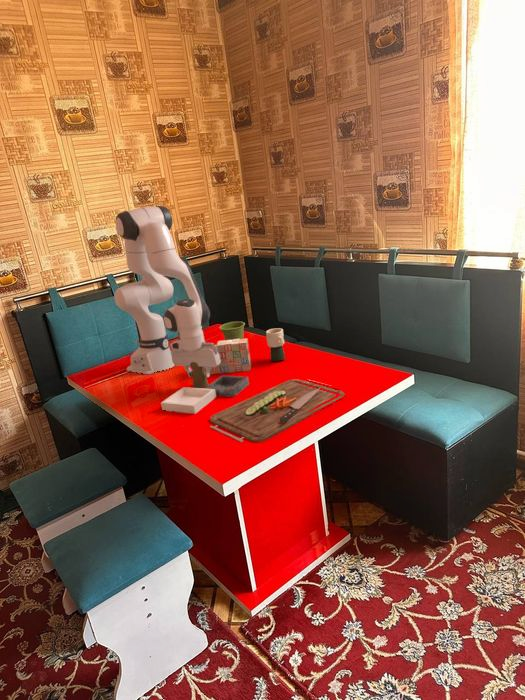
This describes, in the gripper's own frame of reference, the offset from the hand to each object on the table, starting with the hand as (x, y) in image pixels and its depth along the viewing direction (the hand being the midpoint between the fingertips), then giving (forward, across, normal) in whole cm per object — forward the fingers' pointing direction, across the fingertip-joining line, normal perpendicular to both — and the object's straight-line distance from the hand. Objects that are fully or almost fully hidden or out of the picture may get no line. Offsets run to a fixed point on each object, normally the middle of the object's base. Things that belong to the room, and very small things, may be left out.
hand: (199, 376), depth 196 cm
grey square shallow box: (+4, -13, +1) cm, 14 cm away
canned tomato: (+4, +37, -45) cm, 58 cm away
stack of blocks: (+4, -1, -17) cm, 18 cm away
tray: (+4, -5, +15) cm, 16 cm away
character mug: (+4, -19, -31) cm, 37 cm away
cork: (+4, 0, 0) cm, 4 cm away
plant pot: (+4, +9, -44) cm, 45 cm away
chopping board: (+5, -39, +12) cm, 41 cm away
